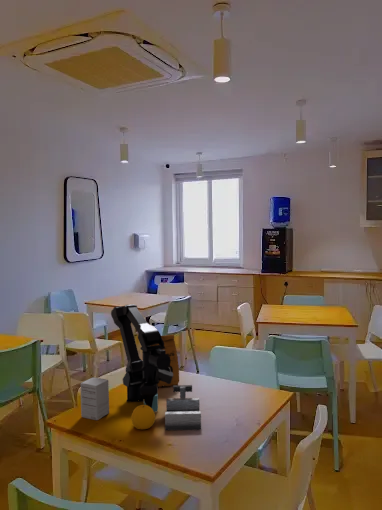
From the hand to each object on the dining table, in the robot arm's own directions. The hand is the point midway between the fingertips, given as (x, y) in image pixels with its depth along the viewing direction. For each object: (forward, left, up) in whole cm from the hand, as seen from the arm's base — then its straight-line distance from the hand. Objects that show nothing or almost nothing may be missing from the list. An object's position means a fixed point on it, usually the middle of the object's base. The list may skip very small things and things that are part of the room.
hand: (150, 404), depth 161 cm
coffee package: (+4, +28, -2) cm, 28 cm away
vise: (+12, -9, -2) cm, 15 cm away
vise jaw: (+12, -2, 0) cm, 12 cm away
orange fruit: (-1, -15, -2) cm, 15 cm away
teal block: (0, 0, -2) cm, 2 cm away
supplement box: (-20, -4, -2) cm, 21 cm away
